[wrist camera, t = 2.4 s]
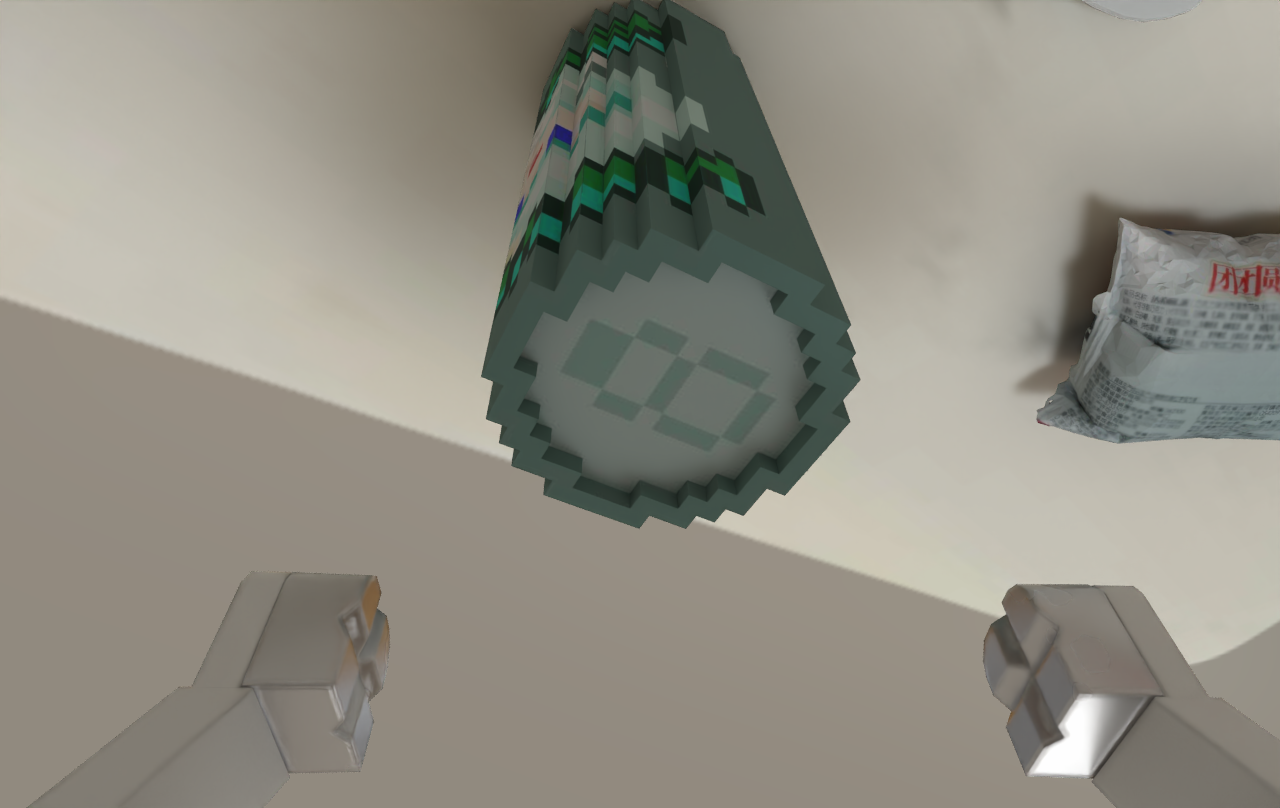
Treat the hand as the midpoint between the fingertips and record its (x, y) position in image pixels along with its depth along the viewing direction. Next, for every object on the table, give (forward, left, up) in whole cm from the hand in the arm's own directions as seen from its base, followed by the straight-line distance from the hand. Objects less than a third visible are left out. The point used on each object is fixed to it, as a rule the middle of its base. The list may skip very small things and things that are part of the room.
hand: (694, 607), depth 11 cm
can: (0, 0, -20) cm, 20 cm away
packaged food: (+21, -6, -20) cm, 29 cm away
